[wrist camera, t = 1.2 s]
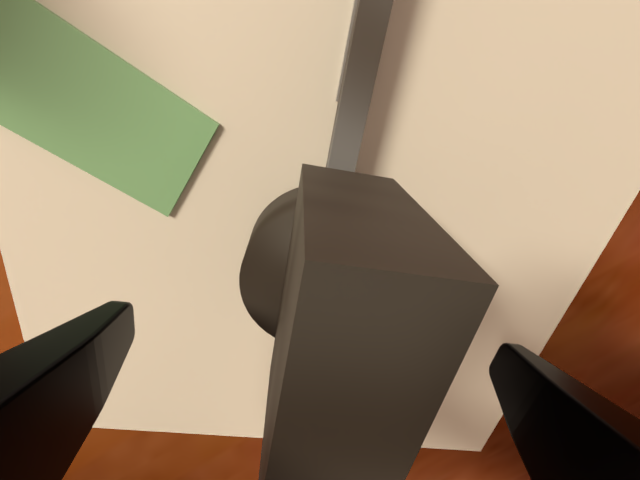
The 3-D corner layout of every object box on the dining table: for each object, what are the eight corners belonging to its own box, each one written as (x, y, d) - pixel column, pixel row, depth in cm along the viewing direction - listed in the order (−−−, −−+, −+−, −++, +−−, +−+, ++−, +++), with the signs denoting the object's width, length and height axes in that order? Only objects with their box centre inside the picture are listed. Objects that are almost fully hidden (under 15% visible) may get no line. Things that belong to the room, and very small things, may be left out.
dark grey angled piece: (364, 333, 14) (423, 564, 7) (241, 321, 13) (183, 560, 6) (485, -69, 8) (1212, -670, 2) (286, -125, 8) (197, -1430, 1)
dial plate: (471, 433, 19) (482, 454, 18) (59, 405, 16) (42, 428, 15) (744, -43, 10) (799, -59, 9) (-96, -294, 7) (-169, -363, 6)
